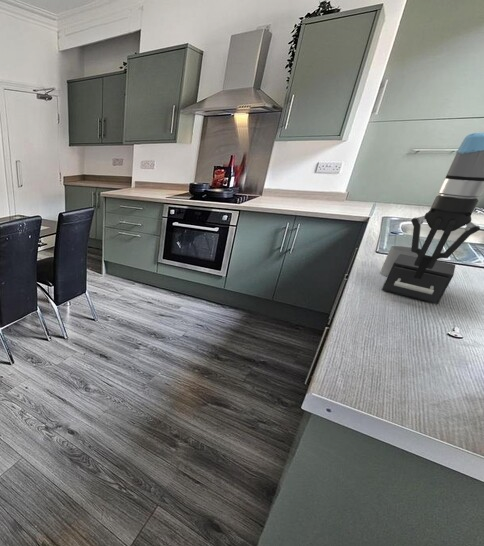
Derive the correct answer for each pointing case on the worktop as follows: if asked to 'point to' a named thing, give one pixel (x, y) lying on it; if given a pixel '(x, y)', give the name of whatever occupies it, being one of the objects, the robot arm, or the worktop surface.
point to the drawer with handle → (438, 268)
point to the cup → (395, 257)
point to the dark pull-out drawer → (416, 284)
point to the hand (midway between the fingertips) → (417, 277)
